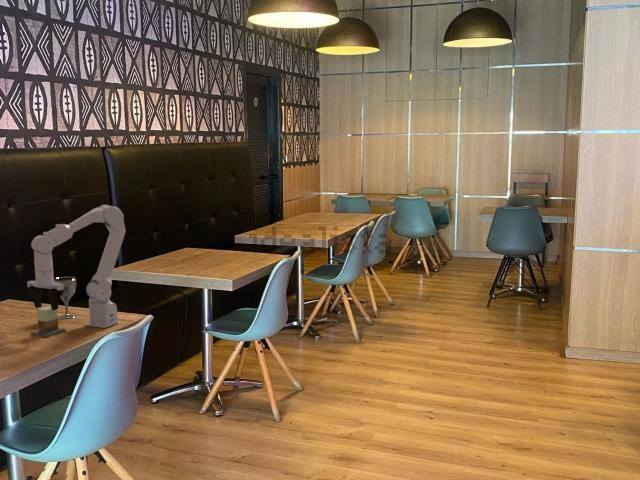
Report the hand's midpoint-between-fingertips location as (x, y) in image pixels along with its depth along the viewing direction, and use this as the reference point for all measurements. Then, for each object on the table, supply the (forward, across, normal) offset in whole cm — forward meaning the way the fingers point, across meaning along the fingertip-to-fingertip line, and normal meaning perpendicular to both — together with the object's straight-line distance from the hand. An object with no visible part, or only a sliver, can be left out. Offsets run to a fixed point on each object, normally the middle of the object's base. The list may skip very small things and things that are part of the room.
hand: (46, 308), depth 220 cm
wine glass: (+9, -10, +19) cm, 23 cm away
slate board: (+9, 0, 0) cm, 9 cm away
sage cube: (+4, 0, 0) cm, 4 cm away
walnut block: (+8, 0, 0) cm, 8 cm away
